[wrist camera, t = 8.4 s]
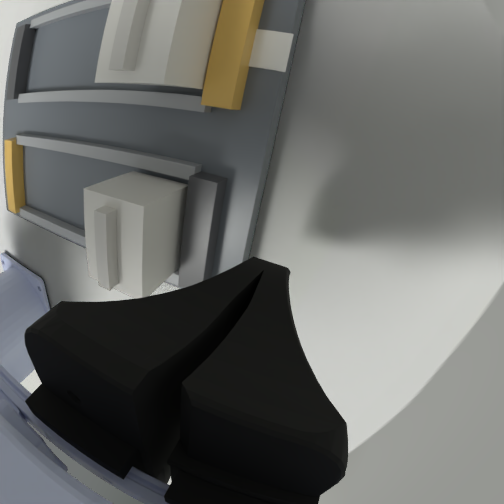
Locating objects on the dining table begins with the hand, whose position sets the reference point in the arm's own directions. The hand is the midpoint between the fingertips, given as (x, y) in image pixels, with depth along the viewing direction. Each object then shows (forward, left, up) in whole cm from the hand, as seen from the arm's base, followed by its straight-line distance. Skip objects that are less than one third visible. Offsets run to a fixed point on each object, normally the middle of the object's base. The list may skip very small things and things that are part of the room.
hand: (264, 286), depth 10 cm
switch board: (+4, +12, -4) cm, 13 cm away
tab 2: (0, +6, -2) cm, 6 cm away
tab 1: (+8, +6, -2) cm, 10 cm away
